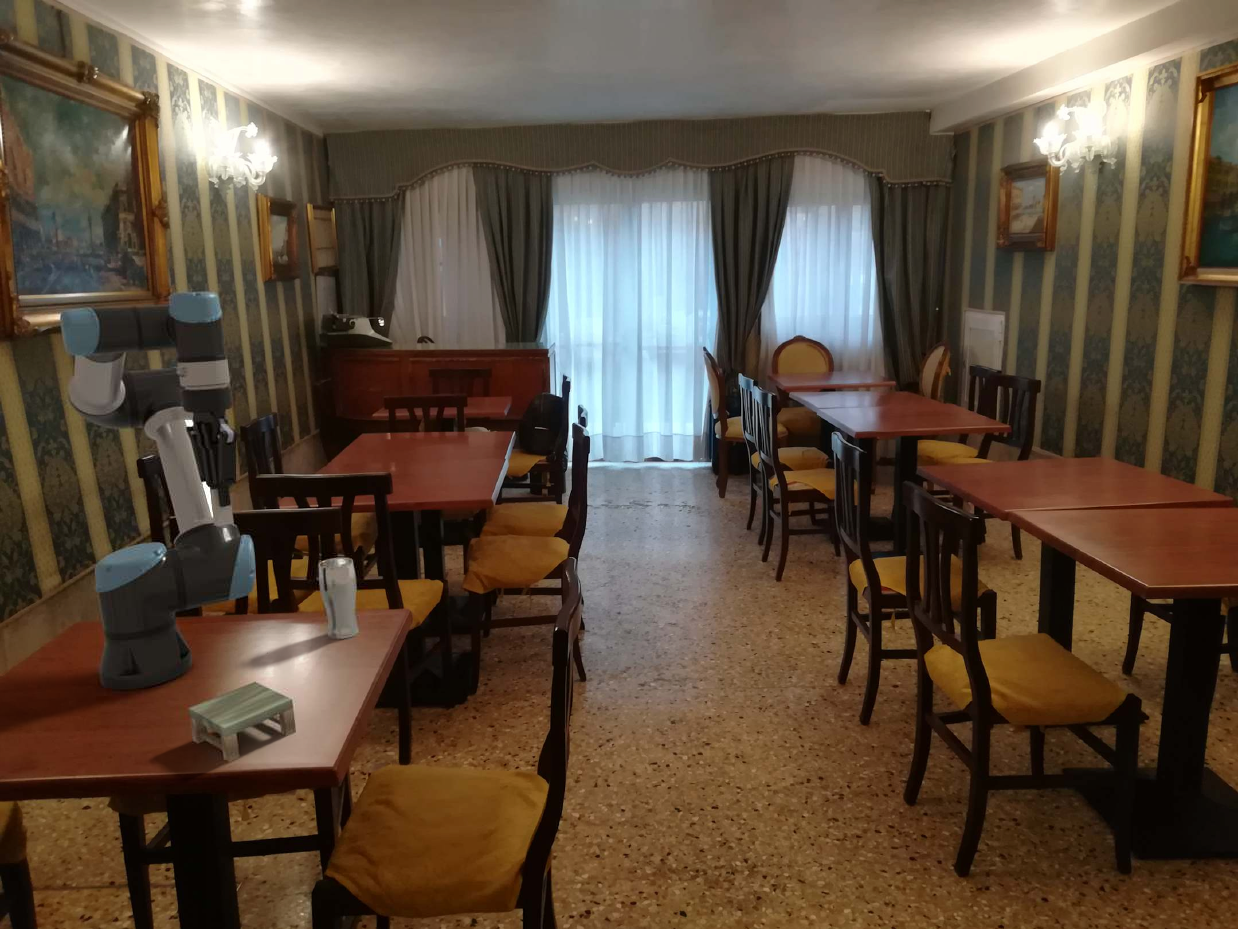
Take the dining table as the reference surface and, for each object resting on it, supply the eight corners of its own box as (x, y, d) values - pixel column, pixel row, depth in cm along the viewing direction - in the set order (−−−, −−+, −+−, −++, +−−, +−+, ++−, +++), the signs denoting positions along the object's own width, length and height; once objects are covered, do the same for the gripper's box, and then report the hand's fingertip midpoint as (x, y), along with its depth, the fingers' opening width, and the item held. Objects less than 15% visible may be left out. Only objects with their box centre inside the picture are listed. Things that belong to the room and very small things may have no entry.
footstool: (188, 708, 137) (224, 728, 130) (254, 681, 145) (292, 699, 139) (193, 740, 138) (229, 762, 131) (258, 712, 147) (296, 731, 140)
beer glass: (341, 643, 174) (333, 570, 171) (317, 636, 178) (309, 565, 175) (368, 630, 180) (361, 560, 177) (345, 624, 184) (338, 555, 180)
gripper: (164, 387, 148) (183, 523, 153) (202, 391, 140) (222, 535, 145) (208, 382, 154) (225, 514, 158) (247, 385, 146) (264, 524, 150)
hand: (223, 523), depth 152 cm, fingers closed
